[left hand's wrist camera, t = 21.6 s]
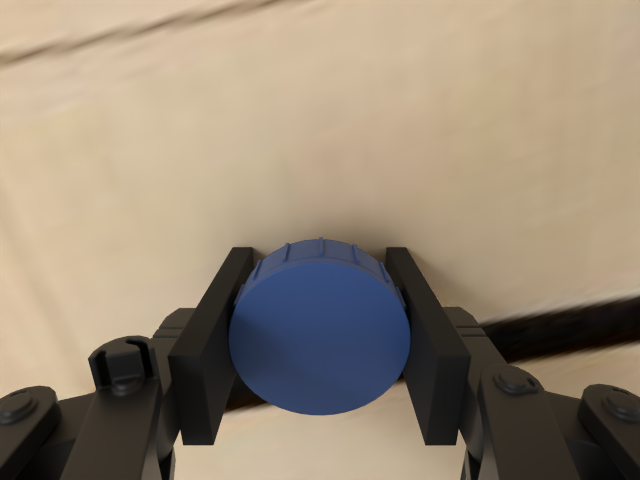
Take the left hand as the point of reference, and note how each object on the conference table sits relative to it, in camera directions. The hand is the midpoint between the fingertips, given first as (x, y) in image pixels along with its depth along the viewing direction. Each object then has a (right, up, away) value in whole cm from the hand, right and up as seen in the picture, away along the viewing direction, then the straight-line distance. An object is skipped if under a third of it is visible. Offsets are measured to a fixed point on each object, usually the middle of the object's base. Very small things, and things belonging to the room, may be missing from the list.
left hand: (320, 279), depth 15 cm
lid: (0, -1, -4) cm, 4 cm away
